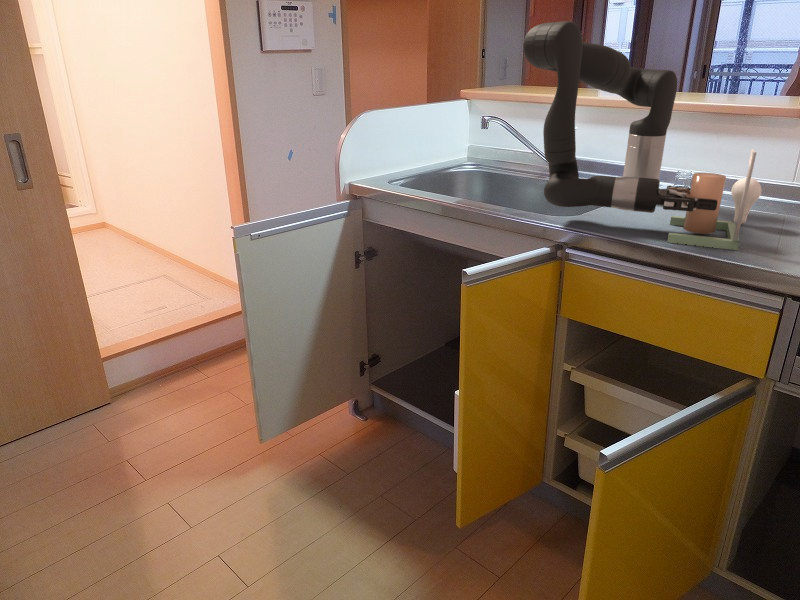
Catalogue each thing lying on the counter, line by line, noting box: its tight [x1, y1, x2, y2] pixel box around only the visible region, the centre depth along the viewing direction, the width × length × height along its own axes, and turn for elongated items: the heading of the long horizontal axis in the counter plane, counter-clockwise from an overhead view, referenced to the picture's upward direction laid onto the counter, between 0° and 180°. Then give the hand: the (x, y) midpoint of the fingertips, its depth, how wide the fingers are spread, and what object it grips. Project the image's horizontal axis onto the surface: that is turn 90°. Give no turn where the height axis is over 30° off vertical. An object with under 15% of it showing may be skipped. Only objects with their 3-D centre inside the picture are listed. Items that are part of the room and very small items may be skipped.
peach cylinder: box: [682, 172, 727, 235], centre depth 136 cm, size 6×6×12 cm
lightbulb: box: [730, 177, 762, 225], centre depth 146 cm, size 6×6×11 cm
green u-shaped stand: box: [667, 148, 757, 251], centre depth 135 cm, size 17×14×20 cm
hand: (716, 201), depth 135 cm, fingers closed on peach cylinder, 6 cm apart
